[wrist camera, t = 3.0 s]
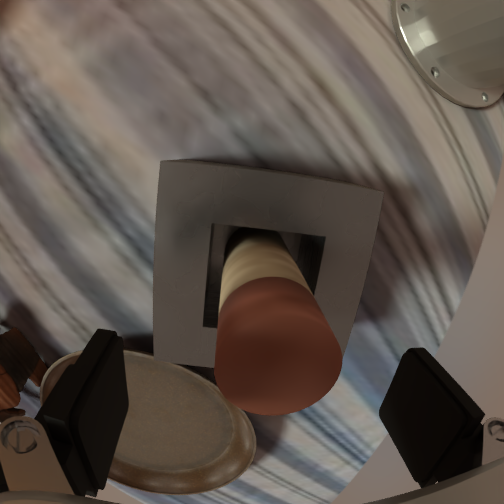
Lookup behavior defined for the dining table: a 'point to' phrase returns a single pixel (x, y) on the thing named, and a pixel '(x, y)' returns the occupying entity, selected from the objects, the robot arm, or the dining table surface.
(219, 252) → the block
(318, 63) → the dining table surface
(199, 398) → the plant saucer
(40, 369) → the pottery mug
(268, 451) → the dining table surface
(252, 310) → the beech pin
